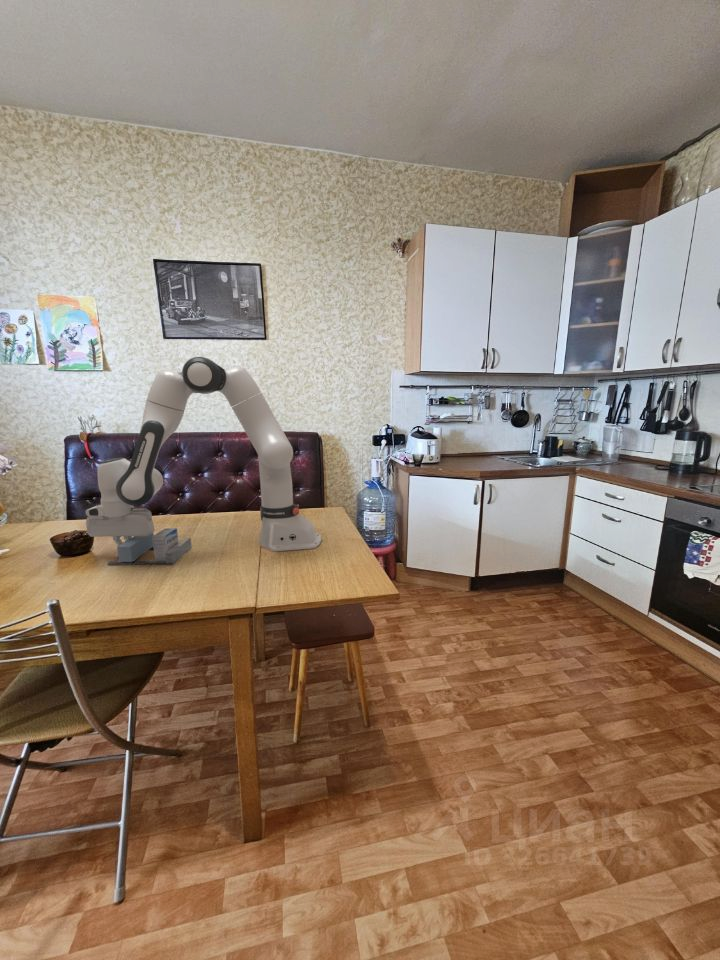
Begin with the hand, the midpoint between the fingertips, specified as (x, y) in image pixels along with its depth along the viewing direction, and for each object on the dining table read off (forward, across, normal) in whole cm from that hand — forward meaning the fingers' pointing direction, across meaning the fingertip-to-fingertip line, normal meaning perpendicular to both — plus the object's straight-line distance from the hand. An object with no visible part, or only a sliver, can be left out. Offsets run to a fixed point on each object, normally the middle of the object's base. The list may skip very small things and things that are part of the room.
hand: (123, 548), depth 128 cm
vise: (+3, -9, 0) cm, 9 cm away
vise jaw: (+2, -5, 0) cm, 5 cm away
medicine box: (+3, -14, 0) cm, 15 cm away
